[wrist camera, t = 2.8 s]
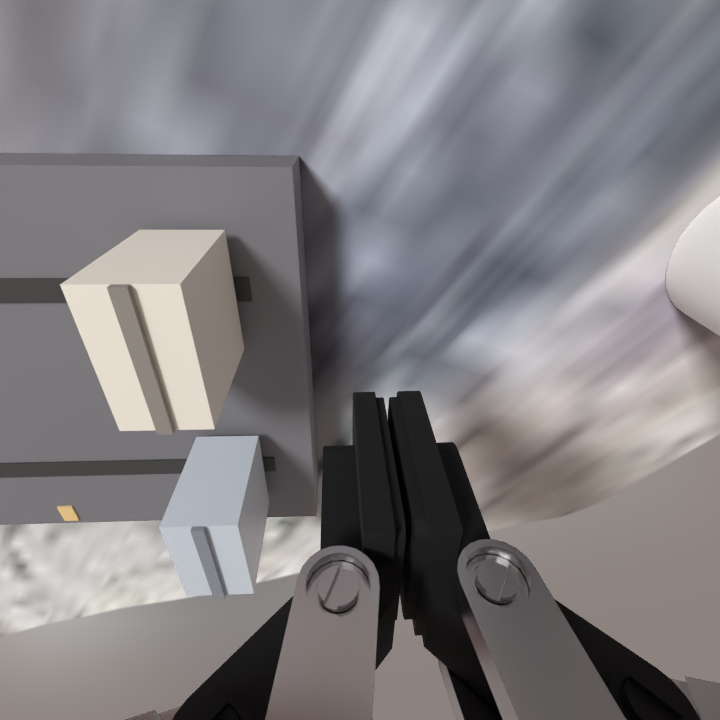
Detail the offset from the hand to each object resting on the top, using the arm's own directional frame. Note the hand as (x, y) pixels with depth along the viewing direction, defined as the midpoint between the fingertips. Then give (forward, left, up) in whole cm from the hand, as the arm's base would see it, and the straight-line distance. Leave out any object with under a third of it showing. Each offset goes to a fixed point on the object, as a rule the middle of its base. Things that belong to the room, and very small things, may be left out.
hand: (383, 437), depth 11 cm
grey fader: (+9, -7, -7) cm, 14 cm away
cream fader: (-1, -7, -7) cm, 10 cm away
